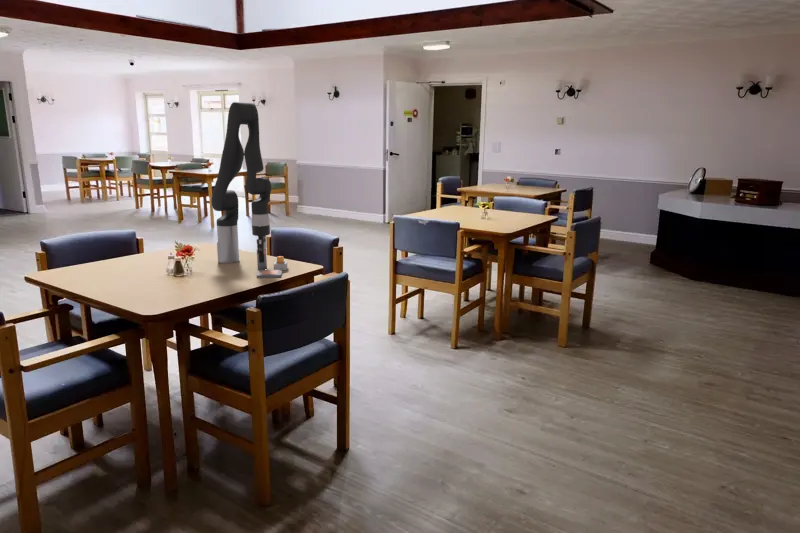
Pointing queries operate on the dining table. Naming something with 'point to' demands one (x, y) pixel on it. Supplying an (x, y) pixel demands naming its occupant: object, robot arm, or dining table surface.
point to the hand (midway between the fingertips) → (262, 260)
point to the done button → (280, 259)
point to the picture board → (269, 273)
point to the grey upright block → (262, 265)
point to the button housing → (280, 266)
